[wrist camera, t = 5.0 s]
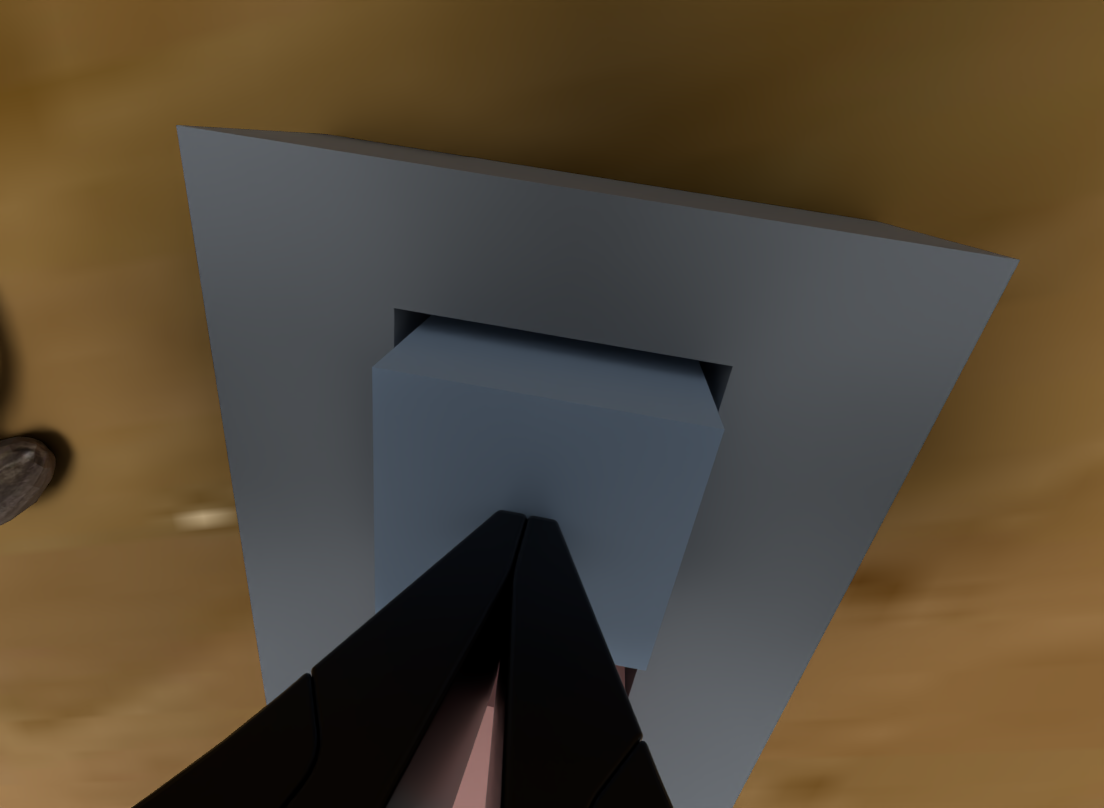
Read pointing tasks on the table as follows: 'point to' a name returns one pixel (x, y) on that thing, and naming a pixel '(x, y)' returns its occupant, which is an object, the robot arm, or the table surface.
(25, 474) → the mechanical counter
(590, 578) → the blue key
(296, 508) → the key panel
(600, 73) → the table surface
